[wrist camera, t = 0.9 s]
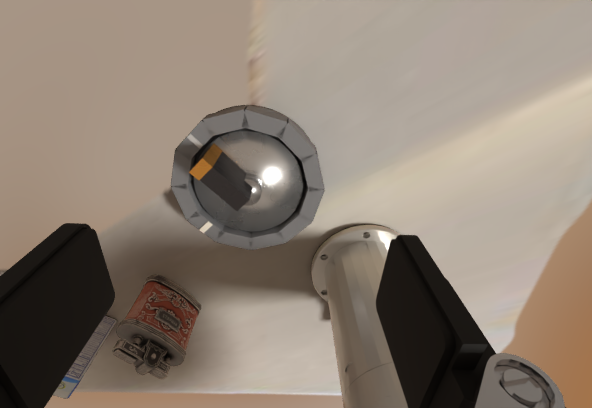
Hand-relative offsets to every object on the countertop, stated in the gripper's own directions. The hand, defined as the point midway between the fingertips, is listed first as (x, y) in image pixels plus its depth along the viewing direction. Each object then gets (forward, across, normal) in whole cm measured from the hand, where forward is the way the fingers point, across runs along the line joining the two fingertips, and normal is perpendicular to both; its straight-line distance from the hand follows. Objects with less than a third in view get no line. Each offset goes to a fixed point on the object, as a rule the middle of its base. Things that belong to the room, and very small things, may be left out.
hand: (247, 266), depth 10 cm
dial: (+20, +2, +6) cm, 21 cm away
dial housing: (+22, +2, +6) cm, 22 cm away
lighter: (+22, +12, +23) cm, 34 cm away
